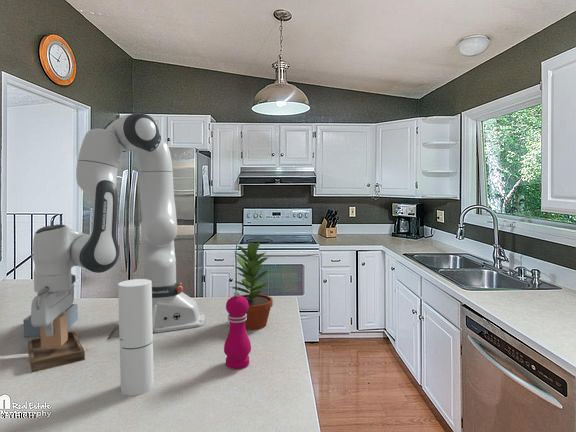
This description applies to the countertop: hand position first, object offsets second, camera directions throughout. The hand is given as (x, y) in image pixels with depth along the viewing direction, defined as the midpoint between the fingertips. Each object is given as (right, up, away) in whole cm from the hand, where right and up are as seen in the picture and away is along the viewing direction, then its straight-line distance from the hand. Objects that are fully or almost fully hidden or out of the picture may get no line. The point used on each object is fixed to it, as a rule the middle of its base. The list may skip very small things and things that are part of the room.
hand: (54, 331), depth 104 cm
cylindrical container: (+31, -8, -17) cm, 36 cm away
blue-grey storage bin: (-12, -5, +18) cm, 23 cm away
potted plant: (+53, -6, +24) cm, 59 cm away
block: (0, -4, 0) cm, 4 cm away
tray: (0, -7, 0) cm, 7 cm away
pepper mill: (+52, -7, -5) cm, 53 cm away
